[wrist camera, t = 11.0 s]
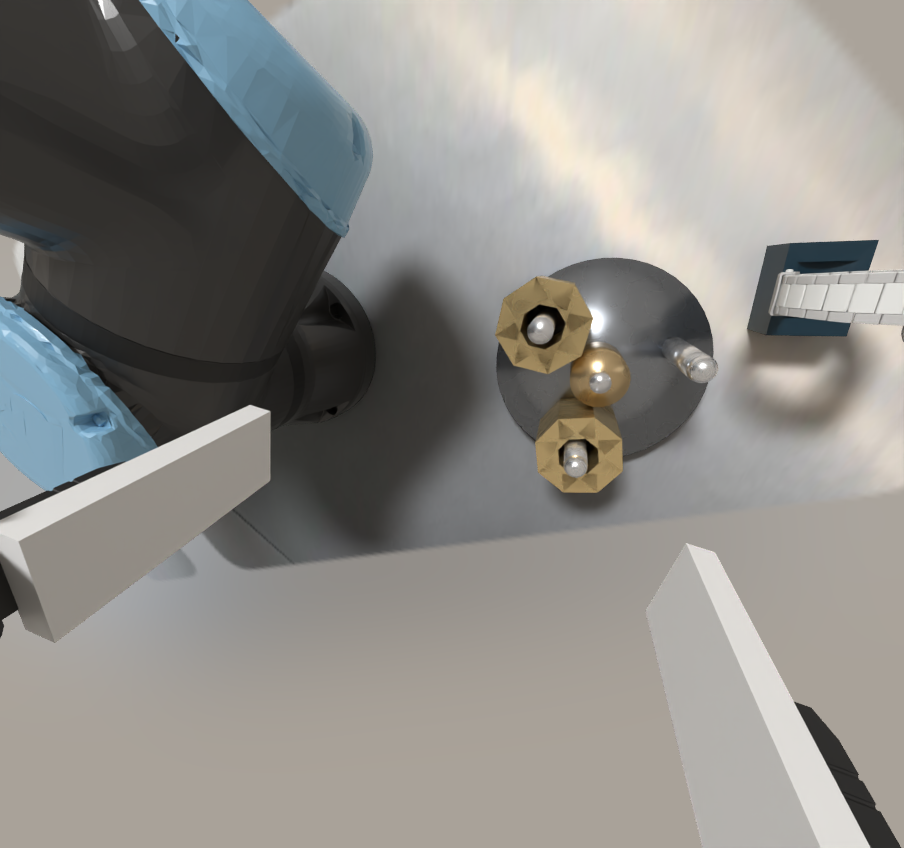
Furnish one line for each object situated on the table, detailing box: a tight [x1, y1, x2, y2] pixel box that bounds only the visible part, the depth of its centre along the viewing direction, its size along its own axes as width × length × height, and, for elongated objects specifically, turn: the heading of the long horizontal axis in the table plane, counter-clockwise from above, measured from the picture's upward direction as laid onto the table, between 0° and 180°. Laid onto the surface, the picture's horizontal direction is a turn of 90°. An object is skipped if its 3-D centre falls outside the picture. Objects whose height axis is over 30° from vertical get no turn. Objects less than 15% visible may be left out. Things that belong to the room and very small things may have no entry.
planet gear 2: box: [535, 398, 623, 493], centre depth 31 cm, size 6×6×5 cm
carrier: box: [497, 258, 718, 478], centre depth 28 cm, size 16×16×9 cm
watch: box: [747, 240, 904, 342], centre depth 22 cm, size 6×8×11 cm
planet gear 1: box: [495, 276, 594, 374], centre depth 28 cm, size 6×6×5 cm
